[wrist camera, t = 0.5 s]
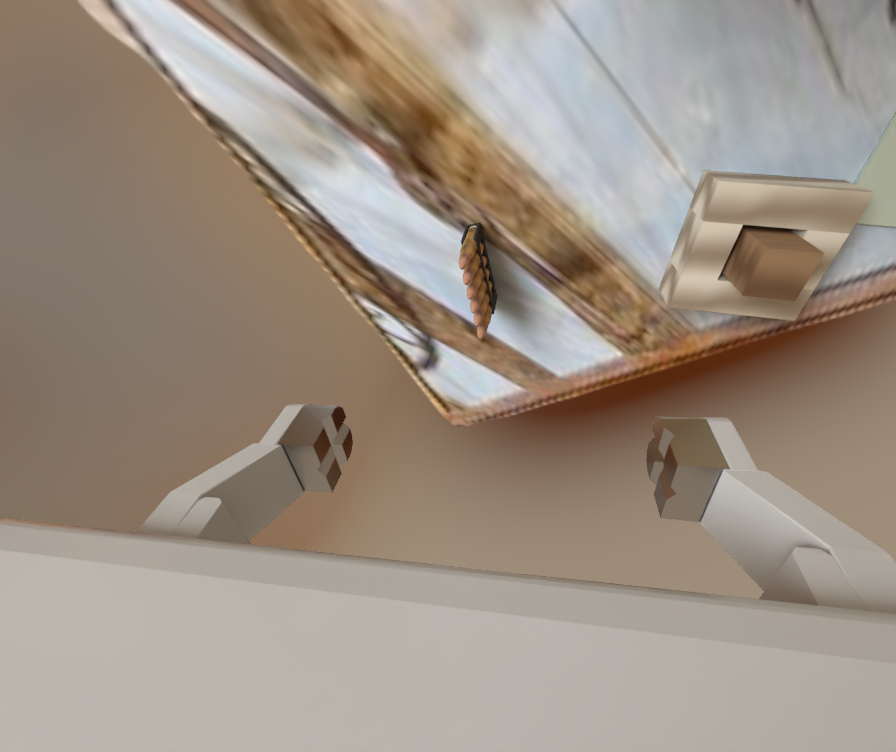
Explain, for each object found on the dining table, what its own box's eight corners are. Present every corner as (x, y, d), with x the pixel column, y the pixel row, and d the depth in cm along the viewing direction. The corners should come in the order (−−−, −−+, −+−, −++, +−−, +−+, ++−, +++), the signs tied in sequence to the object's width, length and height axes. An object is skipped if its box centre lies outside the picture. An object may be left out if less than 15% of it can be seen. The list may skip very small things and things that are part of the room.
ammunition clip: (497, 298, 58) (489, 344, 49) (484, 300, 59) (474, 346, 49) (480, 222, 52) (468, 258, 43) (466, 225, 53) (450, 261, 43)
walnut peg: (729, 216, 47) (767, 248, 39) (776, 220, 47) (824, 253, 39) (710, 258, 50) (742, 295, 42) (754, 262, 50) (795, 301, 42)
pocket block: (703, 170, 45) (719, 181, 41) (844, 180, 43) (875, 192, 39) (658, 289, 53) (668, 307, 49) (775, 300, 52) (794, 320, 48)
